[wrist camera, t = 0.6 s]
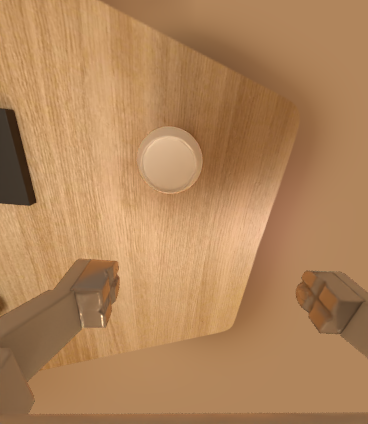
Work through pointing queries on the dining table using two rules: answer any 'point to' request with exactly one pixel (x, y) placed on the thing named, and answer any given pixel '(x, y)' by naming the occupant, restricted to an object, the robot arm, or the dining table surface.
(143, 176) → the beverage can
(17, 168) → the scale
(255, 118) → the dining table surface
